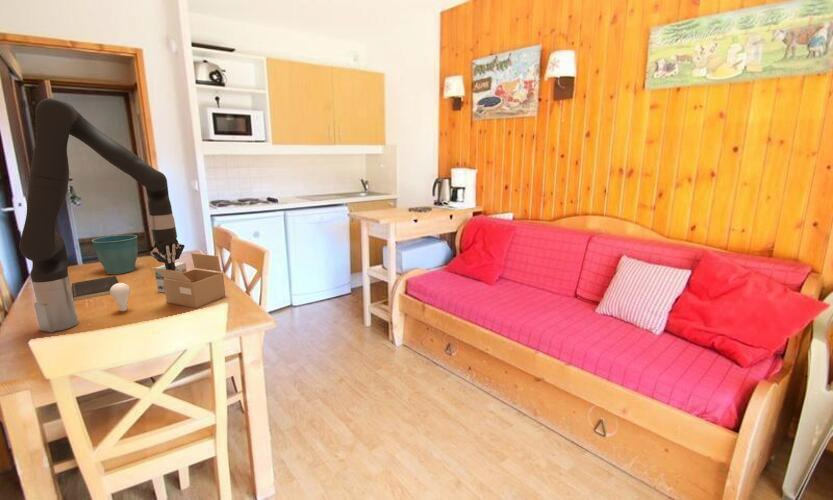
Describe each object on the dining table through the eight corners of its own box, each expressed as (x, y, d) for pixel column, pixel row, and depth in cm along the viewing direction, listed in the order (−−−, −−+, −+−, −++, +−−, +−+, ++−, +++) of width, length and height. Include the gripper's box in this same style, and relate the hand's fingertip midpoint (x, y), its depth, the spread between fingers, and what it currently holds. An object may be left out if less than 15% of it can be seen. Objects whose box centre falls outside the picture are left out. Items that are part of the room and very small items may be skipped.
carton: (196, 308, 155) (192, 283, 152) (166, 302, 161) (162, 278, 158) (225, 296, 167) (222, 273, 165) (197, 291, 173) (194, 269, 171)
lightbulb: (130, 306, 157) (125, 279, 154) (136, 310, 153) (131, 282, 150) (111, 311, 152) (106, 283, 149) (116, 315, 148) (111, 287, 146)
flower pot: (104, 268, 208) (98, 236, 204) (146, 264, 215) (140, 233, 211) (93, 278, 192) (86, 243, 188) (138, 274, 199) (132, 240, 195)
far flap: (217, 256, 162) (218, 256, 163) (191, 253, 168) (192, 252, 168) (220, 271, 165) (221, 271, 165) (194, 267, 170) (195, 267, 170)
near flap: (191, 280, 153) (190, 281, 152) (164, 276, 158) (163, 277, 158) (179, 271, 148) (178, 272, 147) (152, 267, 153) (151, 268, 153)
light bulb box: (170, 293, 171) (167, 268, 169) (157, 292, 173) (153, 268, 170) (189, 285, 182) (186, 262, 179) (176, 284, 183) (172, 261, 180)
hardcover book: (116, 280, 191) (115, 275, 190) (122, 293, 174) (121, 287, 173) (72, 288, 181) (71, 283, 180) (73, 302, 164) (72, 296, 163)
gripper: (153, 230, 141) (161, 278, 145) (186, 223, 153) (193, 268, 157) (138, 229, 144) (147, 276, 148) (172, 222, 155) (180, 266, 160)
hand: (171, 272), depth 152 cm, fingers closed
